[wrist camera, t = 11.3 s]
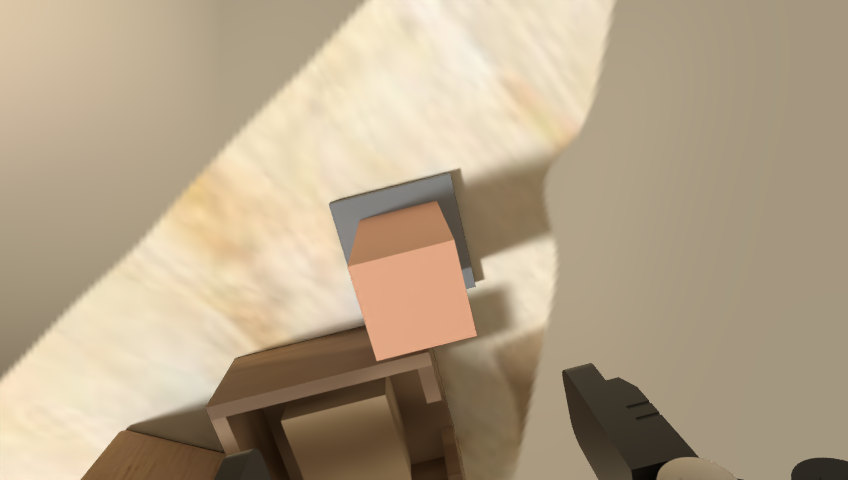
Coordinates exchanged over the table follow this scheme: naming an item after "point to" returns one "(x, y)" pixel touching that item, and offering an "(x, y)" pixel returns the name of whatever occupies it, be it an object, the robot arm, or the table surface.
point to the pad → (401, 198)
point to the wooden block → (153, 460)
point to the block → (409, 281)
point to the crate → (338, 412)
